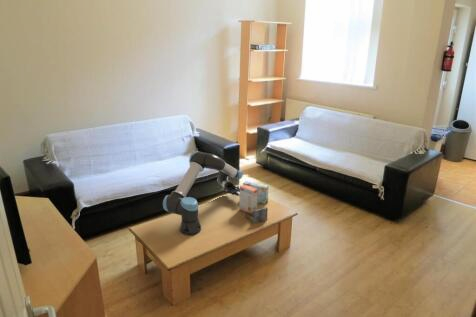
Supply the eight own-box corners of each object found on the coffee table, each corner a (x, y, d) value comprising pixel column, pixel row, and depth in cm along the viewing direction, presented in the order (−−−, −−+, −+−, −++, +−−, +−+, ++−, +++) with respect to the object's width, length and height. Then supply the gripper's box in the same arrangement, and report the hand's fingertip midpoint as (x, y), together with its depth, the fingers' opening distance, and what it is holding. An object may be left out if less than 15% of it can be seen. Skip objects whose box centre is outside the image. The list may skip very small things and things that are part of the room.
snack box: (268, 202, 289) (268, 185, 284) (265, 204, 285) (266, 187, 280) (245, 196, 298) (245, 180, 293) (242, 199, 294) (242, 182, 289)
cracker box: (257, 213, 271) (258, 189, 263) (252, 216, 266) (252, 191, 259) (244, 207, 280) (244, 183, 273) (239, 209, 276) (239, 185, 269)
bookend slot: (253, 223, 256) (253, 211, 252) (244, 216, 266) (244, 204, 263) (267, 219, 261) (267, 207, 258) (258, 212, 272) (258, 201, 268)
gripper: (234, 188, 303) (248, 198, 284) (221, 191, 298) (234, 202, 278) (234, 180, 301) (248, 190, 281) (221, 183, 295) (234, 193, 276)
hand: (241, 196), depth 280 cm, fingers closed
